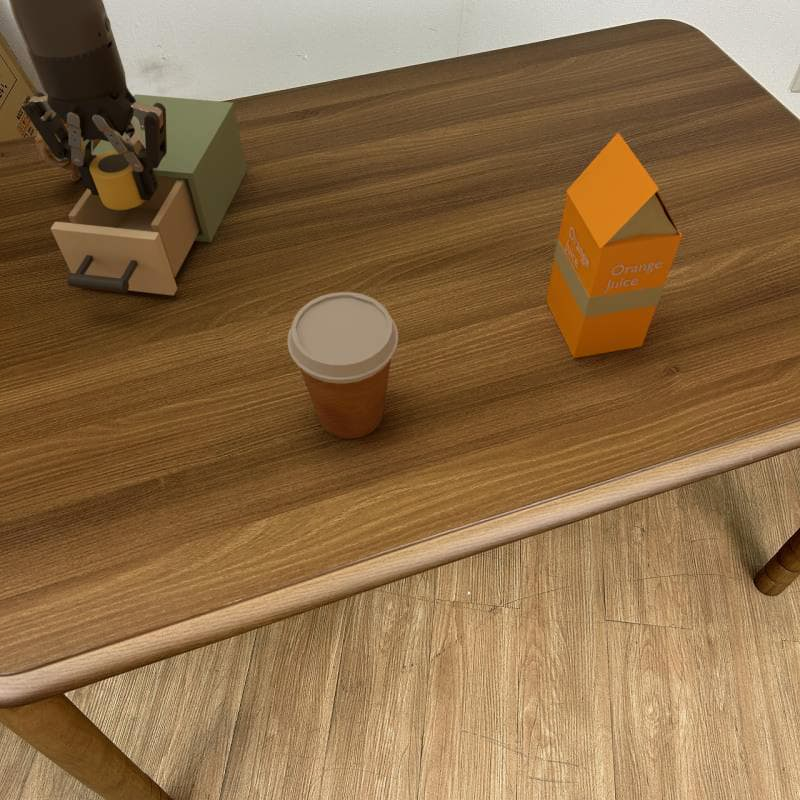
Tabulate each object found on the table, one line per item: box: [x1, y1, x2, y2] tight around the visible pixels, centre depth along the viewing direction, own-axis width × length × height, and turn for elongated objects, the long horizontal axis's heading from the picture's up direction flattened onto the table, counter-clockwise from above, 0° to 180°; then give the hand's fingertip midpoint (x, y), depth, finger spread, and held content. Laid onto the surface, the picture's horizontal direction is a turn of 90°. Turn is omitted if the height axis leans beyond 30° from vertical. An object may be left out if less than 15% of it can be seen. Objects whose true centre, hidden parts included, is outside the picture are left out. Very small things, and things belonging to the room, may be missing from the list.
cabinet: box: [92, 93, 248, 243], centre depth 90 cm, size 15×13×10 cm
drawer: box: [50, 176, 201, 296], centre depth 82 cm, size 18×11×8 cm, turn 170°
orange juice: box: [545, 132, 683, 359], centre depth 72 cm, size 8×9×20 cm
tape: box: [89, 150, 145, 210], centre depth 78 cm, size 5×5×4 cm
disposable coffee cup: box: [286, 291, 399, 440], centre depth 68 cm, size 10×10×12 cm
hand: (124, 192), depth 79 cm, fingers closed on tape, 5 cm apart
